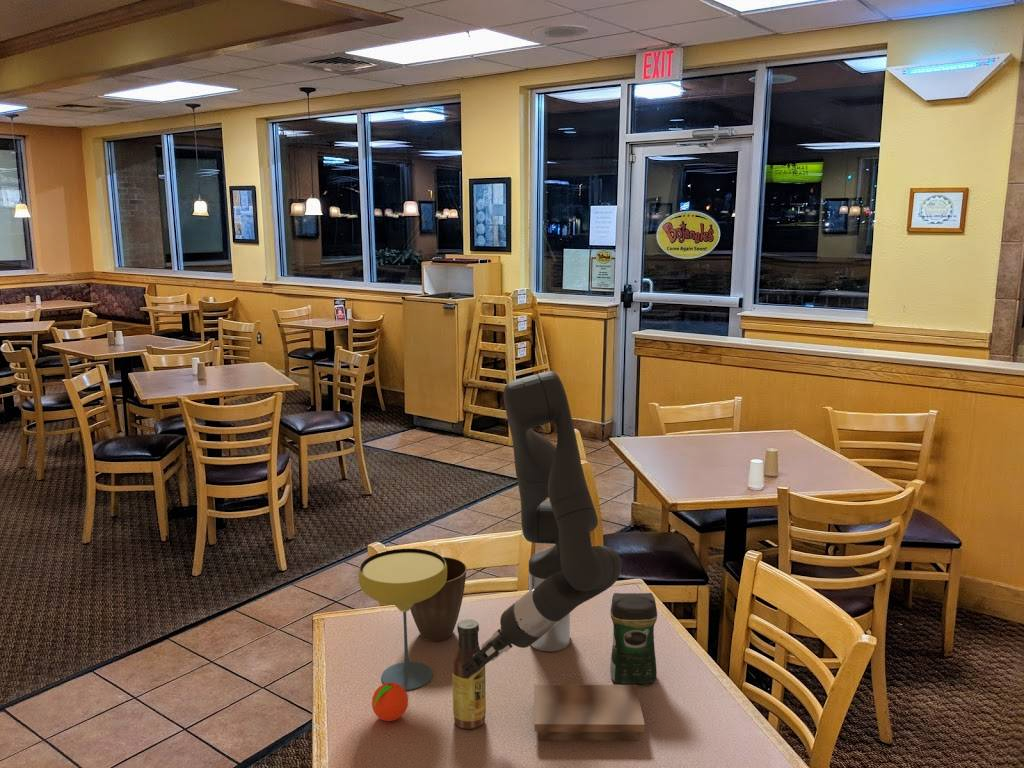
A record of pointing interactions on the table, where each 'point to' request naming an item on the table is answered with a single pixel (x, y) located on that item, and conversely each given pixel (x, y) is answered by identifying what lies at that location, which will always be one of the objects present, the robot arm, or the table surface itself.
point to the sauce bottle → (468, 679)
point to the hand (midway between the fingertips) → (477, 659)
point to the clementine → (390, 701)
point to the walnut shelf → (587, 712)
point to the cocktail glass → (404, 598)
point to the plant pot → (442, 605)
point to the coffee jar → (633, 639)
